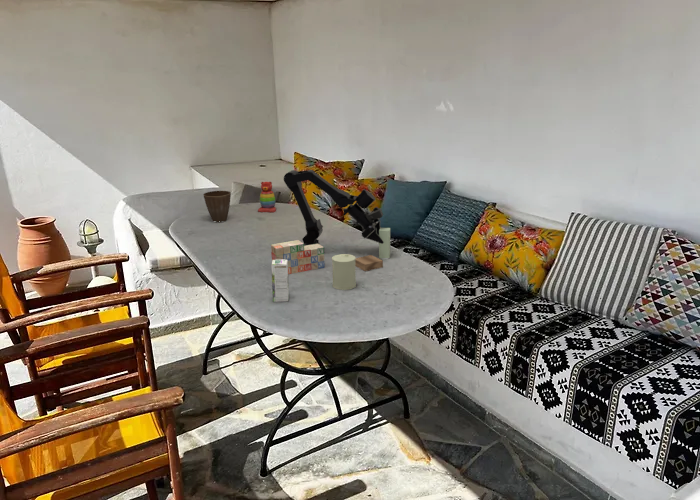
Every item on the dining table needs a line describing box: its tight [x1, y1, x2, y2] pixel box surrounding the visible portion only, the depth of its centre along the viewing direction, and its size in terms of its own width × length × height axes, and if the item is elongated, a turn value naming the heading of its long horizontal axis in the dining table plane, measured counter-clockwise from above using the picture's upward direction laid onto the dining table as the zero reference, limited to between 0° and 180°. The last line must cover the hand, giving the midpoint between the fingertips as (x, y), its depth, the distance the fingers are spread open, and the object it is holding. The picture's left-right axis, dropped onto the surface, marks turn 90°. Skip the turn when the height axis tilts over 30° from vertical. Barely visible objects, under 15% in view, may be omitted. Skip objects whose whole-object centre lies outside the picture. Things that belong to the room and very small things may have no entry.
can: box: [331, 253, 357, 291], centre depth 204 cm, size 9×9×12 cm
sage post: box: [378, 227, 391, 259], centre depth 236 cm, size 4×4×13 cm
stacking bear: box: [257, 181, 277, 213], centre depth 321 cm, size 11×10×18 cm
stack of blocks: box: [270, 239, 326, 275], centre depth 222 cm, size 21×6×12 cm, turn 117°
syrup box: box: [271, 259, 290, 303], centre depth 192 cm, size 6×6×14 cm
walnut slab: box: [355, 254, 384, 272], centre depth 226 cm, size 9×9×3 cm
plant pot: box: [203, 190, 232, 223], centre depth 299 cm, size 15×15×16 cm
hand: (384, 239), depth 235 cm, fingers open, 9 cm apart
